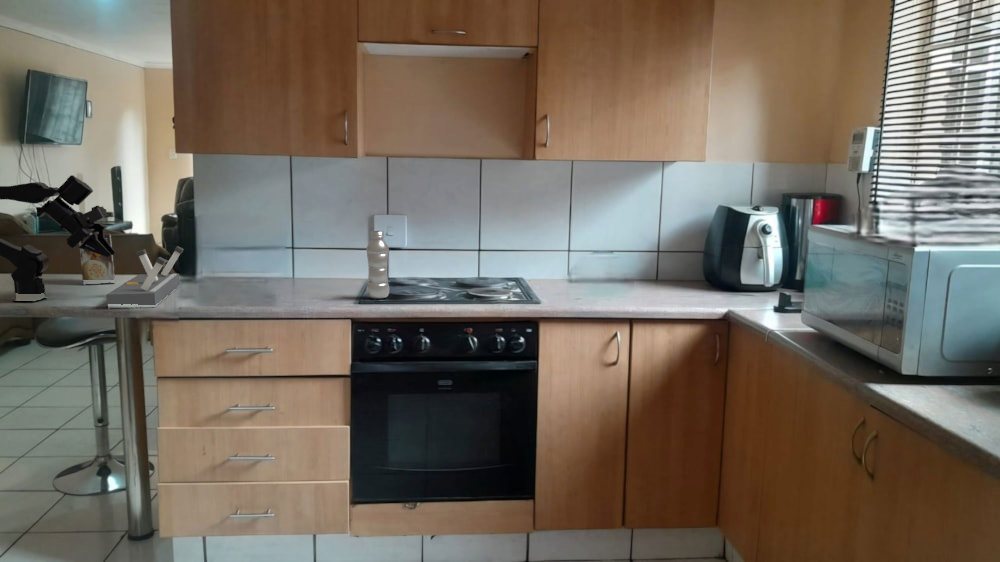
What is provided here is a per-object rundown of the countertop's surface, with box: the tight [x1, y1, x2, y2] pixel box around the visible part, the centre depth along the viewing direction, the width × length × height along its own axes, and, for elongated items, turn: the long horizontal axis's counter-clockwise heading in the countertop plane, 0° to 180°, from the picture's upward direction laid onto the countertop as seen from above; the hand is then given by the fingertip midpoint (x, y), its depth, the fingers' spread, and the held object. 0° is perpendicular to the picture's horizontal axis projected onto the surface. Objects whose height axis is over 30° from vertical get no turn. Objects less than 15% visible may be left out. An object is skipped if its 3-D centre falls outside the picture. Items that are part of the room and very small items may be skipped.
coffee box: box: [78, 232, 116, 281], centre depth 233 cm, size 9×6×16 cm
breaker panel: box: [105, 273, 181, 305], centre depth 212 cm, size 12×35×4 cm, turn 14°
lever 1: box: [141, 256, 168, 291], centre depth 200 cm, size 2×3×10 cm
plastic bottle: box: [365, 230, 390, 300], centre depth 212 cm, size 6×7×20 cm
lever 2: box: [160, 245, 185, 276], centre depth 225 cm, size 2×3×10 cm
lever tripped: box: [135, 248, 158, 282], centre depth 211 cm, size 2×3×10 cm
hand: (112, 254), depth 208 cm, fingers open, 4 cm apart
